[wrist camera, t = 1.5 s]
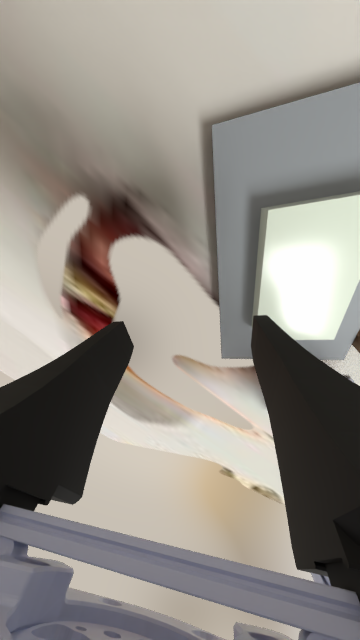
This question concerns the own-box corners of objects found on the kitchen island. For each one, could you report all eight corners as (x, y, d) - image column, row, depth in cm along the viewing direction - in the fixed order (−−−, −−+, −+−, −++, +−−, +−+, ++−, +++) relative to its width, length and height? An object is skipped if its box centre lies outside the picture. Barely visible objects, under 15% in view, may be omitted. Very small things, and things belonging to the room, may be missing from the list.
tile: (322, 325, 16) (334, 339, 14) (251, 326, 17) (255, 340, 16) (370, 189, 10) (398, 188, 9) (261, 208, 12) (268, 210, 10)
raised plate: (335, 349, 19) (343, 359, 18) (221, 349, 22) (221, 358, 20) (465, 62, 8) (507, 39, 7) (212, 132, 11) (211, 124, 10)
